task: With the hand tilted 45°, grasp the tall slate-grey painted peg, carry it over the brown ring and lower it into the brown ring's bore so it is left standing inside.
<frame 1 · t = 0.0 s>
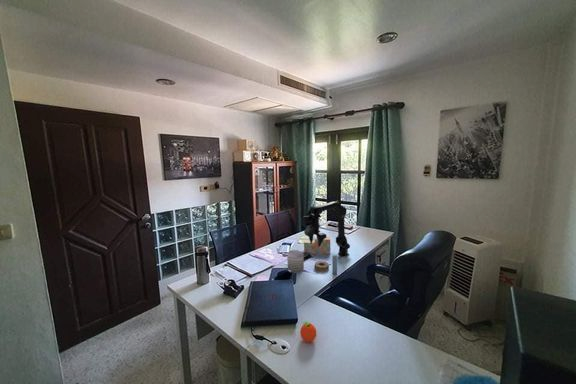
hand: (315, 244, 166), 15 cm above the table, tool pointing down, fingers open, 9 cm apart
peg: (334, 273, 153), on the table
brown ring: (321, 268, 161), on the table
clementine: (307, 339, 99), on the table
can: (295, 269, 161), on the table
stack of blocks: (317, 252, 189), on the table
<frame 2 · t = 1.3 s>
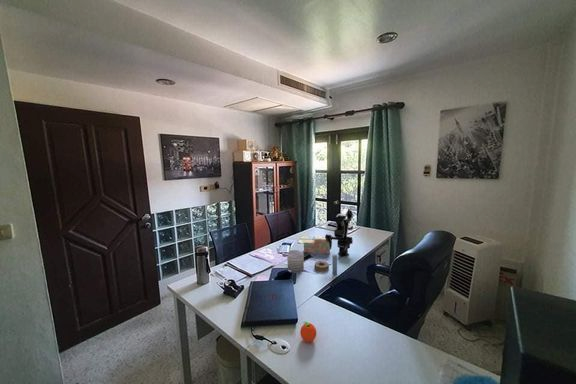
hand: (337, 250, 158), 13 cm above the table, tool tilted 45°, fingers open, 9 cm apart
nothing on the table moved.
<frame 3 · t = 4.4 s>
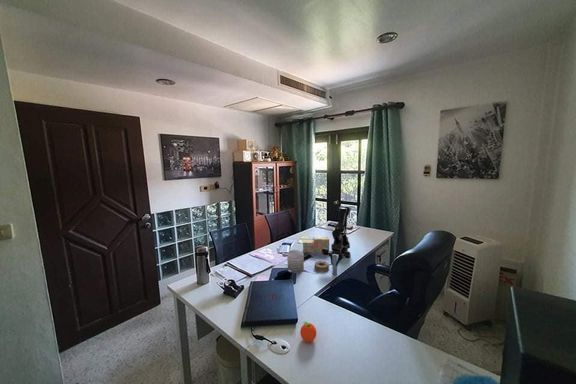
hand: (334, 265, 151), 7 cm above the table, tool tilted 45°, fingers closed on peg, 3 cm apart
peg: (334, 273, 153), on the table, touching gripper
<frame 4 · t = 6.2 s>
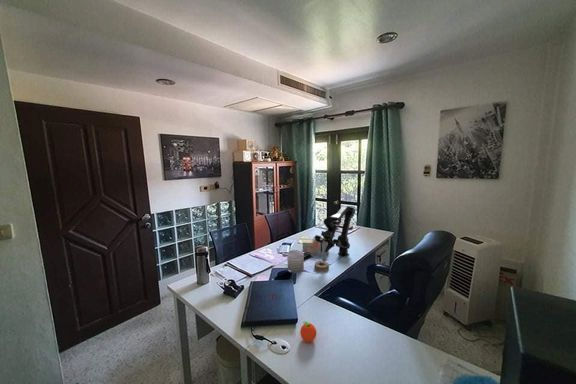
hand: (323, 251, 156), 13 cm above the table, tool tilted 45°, fingers closed on peg, 3 cm apart
peg: (324, 260, 158), point 7 cm above the table, touching gripper
when the fingers open (8 cm above the table, at t = 8.4 s): peg drops 1 cm, resting in brown ring.
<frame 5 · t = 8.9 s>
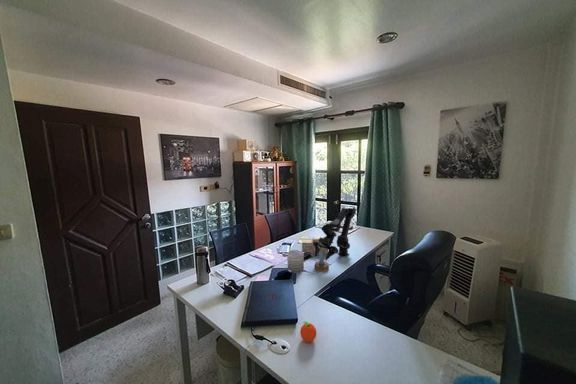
hand: (320, 258, 159), 8 cm above the table, tool tilted 45°, fingers open, 8 cm apart
peg: (321, 268, 161), resting in brown ring
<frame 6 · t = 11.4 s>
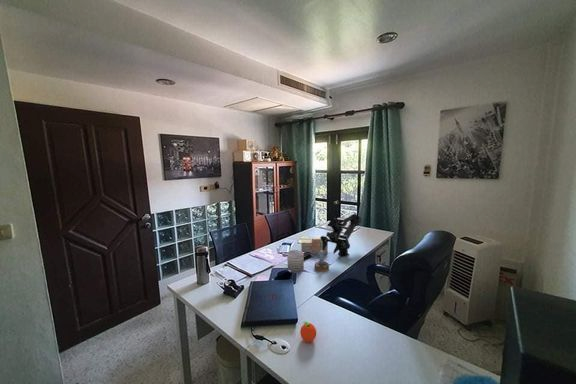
hand: (328, 251, 166), 10 cm above the table, tool tilted 45°, fingers open, 9 cm apart
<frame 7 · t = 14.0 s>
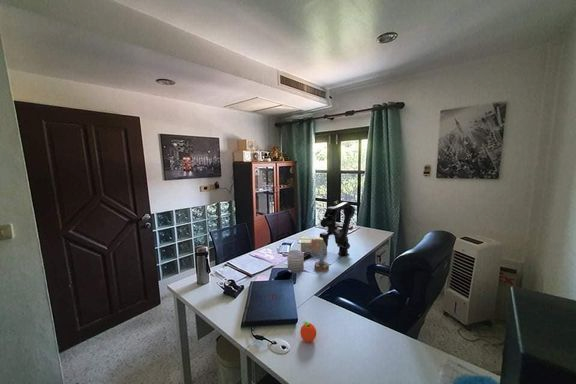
hand: (331, 244, 169), 13 cm above the table, tool pointing down, fingers open, 9 cm apart
at the end: peg 0.0 cm from the brown ring (horizontally); peg tilted 0°; the gripper is holding nothing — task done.
